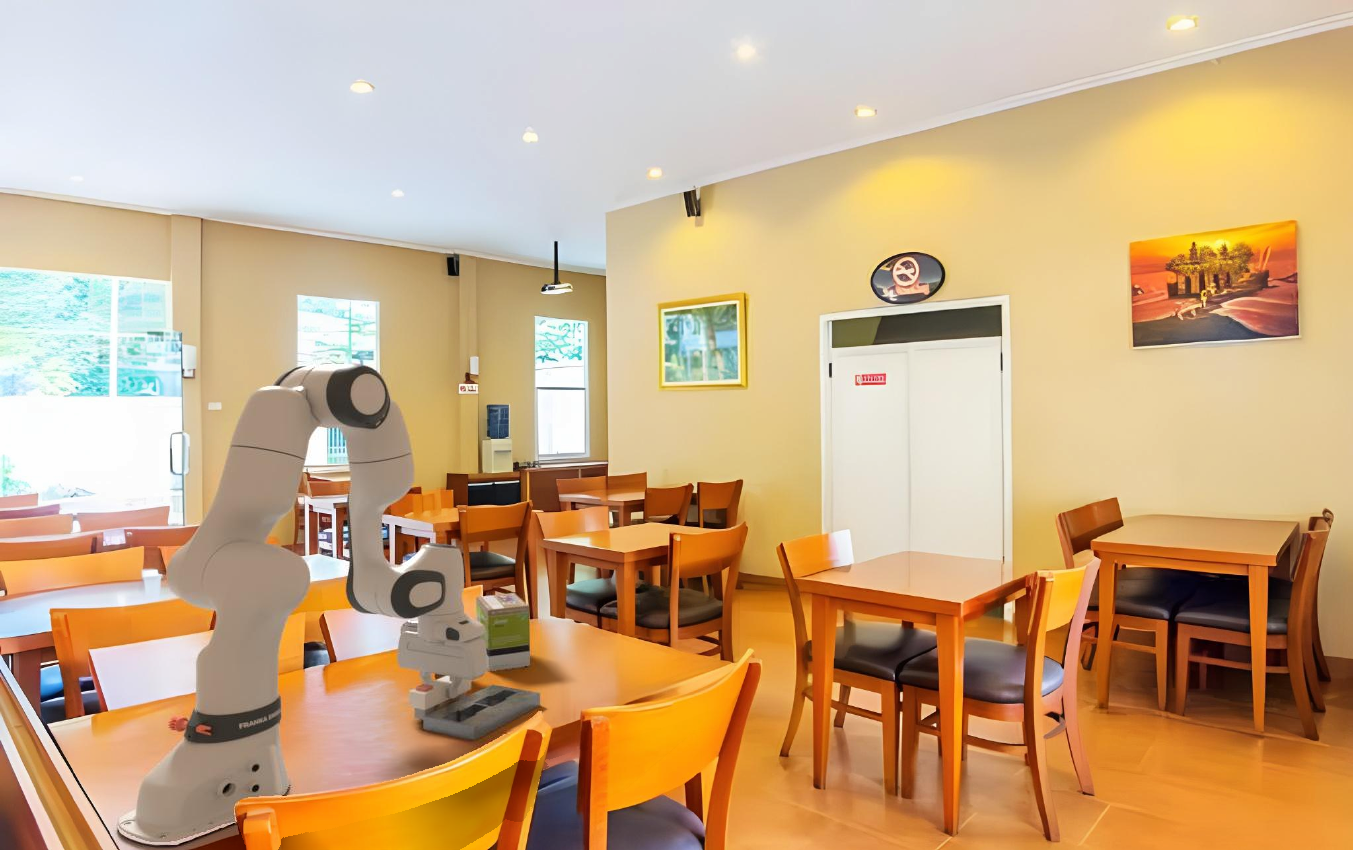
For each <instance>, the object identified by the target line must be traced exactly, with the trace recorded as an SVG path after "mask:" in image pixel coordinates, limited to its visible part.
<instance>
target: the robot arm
mask: <svg viewBox="0 0 1353 850" xmlns="http://www.w3.org/2000/svg"><path fill="white" fill-rule="evenodd" d="M318 427H319V428H326V429H338V430H339V431H340V432H341V434H342V436H343V438H344V440H345V445H346V455H347V462H348V467H349V468H348V469H349V477H350V485H349V491H348V494H347V500H346V523H347V524H346V525H347V538H348V539H347V540H348V542H347V543H348V552H349V553H348V554H349V565H348V566H349V567H348V572H347V577H346V583H345V595H346V599H347V600H348V603H349V605H351V608H353V609H354V610H355V611H357V612H359V613H361V614H368V615H369V614H370V615H379V616H380V615H382V616H386V617H391V618H397V619H402V620H406V619H407V620H406V621H405V622H404V623H403V624H402V625H401V626H400V634H399V635H400V636H399V639H398V644H397V645H398V646H397V654H396V655H397V657H396V658H397V659H396V661H397V662H396V663H397V664H398V666H399V667H400V668H403V669H407V670H412V671H419V677H420V680H421V681H422V684H427V683H430V682H432V681H434V680H433V678H432V675H433V674H434V675H435V674H440V675H446V676H450V681H451V682H452V683H451V685H450V687H449V688H447V689H446V697H447V698H452V699H453V698H455V697H457V694H458V687H459V685H460V683H461V681H462V678H463V679H469V680H471V681H474V680H475V681H476V680H477V679H479V678H481V677H482V678H483V676H485V674H486V673H487V670H488V669H487V651H486V644H485V641H484V639H483V638H482V637H480V636H482V635H484V634H485V626H484V625H483V624H482V623H480V622H478V621H477V619H474V618H473V617H471V616H470V615H468V614H466V613H465V606H464V602H463V593H464V589H465V578H464V577H465V571H464V570H465V569H464V568H465V567H464V561H463V555H462V552H461V550H460V548H459V547H457V546H455V545H452V544H446V543H445V544H442V543H433V542H432V543H431V542H429V543H423V544H422V545H421V546H420V549H419V550H418V552H417V553H415V554H414V555H413V556H412V557H411V558H409V559H408V560H407V561H405V562H403V563H401V564H394V563H391V562H390V561H388V559H387V558H386V556H385V554H384V541H383V537H384V535H383V522H382V521H383V515H384V513H385V511H386V510H387V508H388V507H389V506H391V505H393V504H395V503H397V502H398V501H400V500H401V499H402V498H404V497H405V496H406V495H407V493H408V492H409V491H410V490H411V488H412V486H413V484H414V481H415V464H414V463H415V462H414V456H413V451H412V446H411V441H410V437H409V436H410V435H409V433H408V428H407V425H406V421H405V419H404V416H403V413H402V411H401V408H400V406H399V404H398V403H397V402H396V401H395V400H394V399H391V396H390V393H389V389H388V386H387V384H386V382H385V379H384V378H383V377H382V375H381V374H380V372H378V370H377V369H374V368H373V367H370V366H369V365H365V364H360V363H354V362H350V363H344V364H343V363H331V362H325V363H324V362H323V363H318V364H317V363H316V364H311V365H301V366H297V367H294V368H292V369H290V370H288V371H286V372H284V373H283V374H282V375H280V376H279V377H278V378H277V379H276V381H275V382H274V384H273V385H270V386H264V387H260V388H258V389H256V390H255V391H253V392H252V393H251V394H250V395H249V397H248V399H247V401H246V403H245V405H244V407H243V410H242V411H241V413H240V415H239V417H238V420H237V422H236V426H235V428H234V431H233V433H232V437H231V441H230V444H229V448H228V451H227V456H226V459H225V461H224V462H225V463H224V466H223V470H222V473H221V477H220V480H219V484H218V487H217V490H216V493H215V496H214V498H213V500H212V502H211V505H210V506H209V508H208V510H207V512H206V514H205V516H204V518H203V519H202V521H201V522H200V524H199V526H198V527H197V529H196V531H195V532H194V534H193V535H192V537H191V538H190V539H189V540H188V541H187V542H186V543H185V544H183V546H181V547H180V548H179V549H177V550H176V551H175V552H174V553H173V554H172V556H171V557H170V559H169V560H168V563H167V565H166V571H165V572H166V573H165V579H166V584H167V587H168V588H169V590H170V591H171V592H172V593H173V594H174V595H175V596H176V597H178V598H179V599H180V600H182V601H183V602H186V603H187V604H189V605H190V606H193V607H196V608H199V609H204V610H211V611H215V614H216V619H215V624H214V627H213V631H212V635H211V638H210V640H209V642H208V644H207V645H206V646H204V647H203V648H202V649H201V650H200V651H199V652H198V654H197V656H196V660H195V706H194V708H193V710H192V713H191V714H190V717H189V719H188V718H187V717H182V716H180V715H174V716H172V717H171V718H170V720H169V721H168V724H167V726H168V729H170V731H176V732H178V733H179V732H183V738H182V739H181V740H180V742H178V743H177V744H176V745H175V746H174V748H173V749H172V750H170V751H169V752H168V753H167V754H166V755H165V757H163V759H162V760H161V761H159V763H158V764H157V765H155V766H154V768H152V769H151V770H150V772H149V773H147V774H146V775H145V777H144V778H143V779H142V781H141V784H140V786H139V790H138V795H137V801H136V807H135V809H133V810H131V811H129V812H127V813H126V814H125V813H124V815H122V816H120V817H119V818H118V820H117V826H119V828H120V829H121V830H123V831H124V832H126V833H127V834H130V835H131V836H135V837H136V838H139V839H142V840H145V841H149V842H171V841H177V840H180V839H183V838H187V837H189V836H193V835H195V834H199V833H201V832H206V831H207V830H211V829H213V828H215V827H217V826H221V825H222V824H227V823H231V822H236V821H235V815H234V806H235V804H236V803H237V802H238V801H240V800H242V799H244V798H248V797H259V796H274V795H284V796H285V794H286V793H287V791H288V790H289V788H290V786H291V781H290V778H289V775H288V774H287V773H288V772H287V770H286V766H285V761H284V756H283V751H282V744H281V736H280V723H281V719H282V698H281V695H280V694H279V684H278V683H279V652H280V646H281V640H282V636H283V633H284V630H285V627H286V624H287V622H288V619H289V617H290V616H291V614H292V613H293V611H295V610H296V609H297V608H298V607H299V606H301V604H302V603H303V601H304V599H305V598H306V596H307V594H308V591H309V589H310V585H311V571H310V568H309V566H308V563H307V562H306V561H305V559H304V558H303V557H302V556H301V555H299V554H298V553H296V552H293V551H292V550H289V549H288V548H285V547H283V546H281V545H277V544H274V543H267V540H268V538H269V536H270V535H271V534H272V531H273V530H274V528H275V526H276V525H277V524H278V523H279V522H280V521H281V519H283V518H284V517H285V516H286V515H288V514H289V513H290V512H291V511H292V510H293V508H294V506H296V502H297V497H298V492H299V488H300V485H301V481H302V476H303V474H304V473H303V472H304V467H305V463H306V460H307V454H308V449H309V444H310V439H311V438H312V435H313V433H314V432H315V431H316V430H317V428H318ZM414 618H415V619H417V621H413V620H409V619H414ZM289 785H290V786H289ZM288 787H289V788H288ZM287 789H288V790H287ZM125 824H129V825H125ZM163 837H164V838H163Z"/></svg>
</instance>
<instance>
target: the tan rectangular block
mask: <svg viewBox="0 0 1353 850" xmlns="http://www.w3.org/2000/svg"><path fill="white" fill-rule="evenodd" d="M458 700H460V695H457V697H455V698H453V699H452V698H451V699H448V700H446V701H444V702H442V703H440V704H437V705H435V711H436V710H438V709H441V708H443V707H445V706H447V705H449V704H451V703H454V702H456V701H458Z"/></svg>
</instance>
